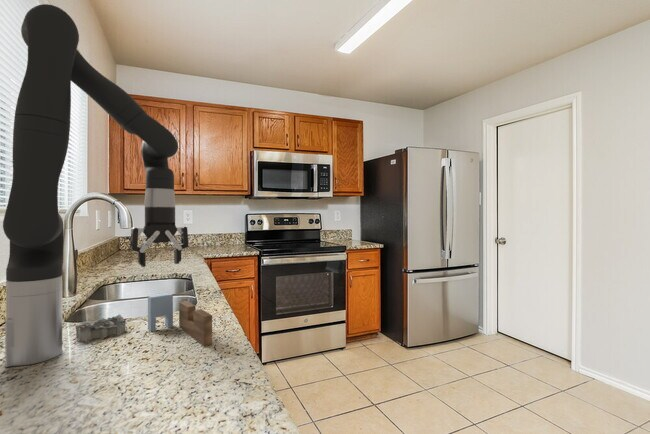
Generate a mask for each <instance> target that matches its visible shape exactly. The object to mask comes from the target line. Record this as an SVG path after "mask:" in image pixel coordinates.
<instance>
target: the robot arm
mask: <svg viewBox="0 0 650 434" xmlns="http://www.w3.org/2000/svg"><path fill="white" fill-rule="evenodd" d="M20 33H21V38H22V40H23V42H24V44H25V45H26V46H27V63H26V69H25V73H24V75H23V79H22V82H21V86H20V89H19V93H18V97H17V101H16V104H15V111H14V120H13V131H12V181H11V188H10V190H9V191H10V193H9V197H8V201H7V205H6V210H5V211H4V212H5V213H4V217H3V220H2V229H3V233H4V235H5V236H6V238H7V239H8V240H9V255H8V256H9V257H8V261H7V262H8V263H7V266H6V269H5V280H6V281H5V285H6V286H5V289H6V290H5V292H6V293H5V298H6V299H5V303H6V304H5V305H6V306H5V310H6V311H5V316H6V317H5V320H4V322H5V325H4V328H5V329H4V332H5V333H4V334H5V336H4V337H5V338H4V340H5V344H4V345H5V347H4V348H5V349H4V350H5V353H4V354H5V355H4V357H5V360H4V361H5V366H4V367H5V368H8V367H14V366H15V367H18V366H19V367H21V366H28V365H33V364H38V363H41V362H42V363H43V362H45V361H49V360H51V359H53V358H56V357H58V356H59V355H61V354H62V353H63V264H64V239H65V237H64V232H65V231H64V228H65V227H64V220H63V218H62V216H61V214H60V213H59V196H58V195H59V194H58V192H59V191H58V190H59V182H60V177H61V175H62V169H63V167H64V164H65V161H66V158H67V153H68V148H69V142H70V129H71V109H72V107H71V106H72V91H71V90H72V87H71V86H72V85H71V83H73V84H74V85H75V86H77V87H78V88H79V89H80V90H81V91H82V92H84V93H85V94H86V95H88V96H89V98H90V99H92V100H93V101H94V102H95V103H96V104H97V105H98V106H99V107H100V108H101V109H102V110H104V111H105V112H106V113H107V114H108V115H109V116H110V118H112V119H113V120H114V121H115V122H116V123H117V124H118V125H119V126H120V127H121V128H122V129H123V130H124V131H125V132H127V133H128V134H131V135H134V136H135V135H136V136H137V137H139V138H140V139H141V140H142V144H141V156H142V162H143V167H144V170H145V194H144V202H143V203H144V227H143V228H140V227H139V228H138V227H131V229H130V243H129V244H130V245H129V250H130V251H134V252H137V263H138V264H139V266H140V267H142V268H144V267H146V252H145V251H147V249H148V248H149V247H150V246H151V245H152V244H160V243H164V244H167V243H169V244H170V245H171V246H172V247H173V248H174V250H173V259H174V260H173V263H174V264H175V265H179V264H180V263H181V262H182V250H184V249H187V248H188V247H189V233H188V232H189V231H188V227H187V226H181V227H179V226H178V227H177V226H176V196H175V173H174V171H173V170H172V169H170V168H169V161H168V158H172V157H174V156H175V155H176V154H177V153H178V150H179V144H178V139H177V138H176V137H175V135H173V133H172V132H171V131H170V130H169V129H167V127H165V126H164V125H162V124H161V123H160V122H159V121H158V120H156V119H155V118H153V117H151V116H150V115H149V114H148V113H147V112H146V110H144V108H142V107H141V105H140V104H138V102H136V100H135V99H134V98H132V96H131V95H130V94H129V93H128V92H126V91H125V90H124V89H123V88H121V87H120V86H119V85H117V84H116V83H115V82H113V81H112V80H110V79H109V78H107V77H106V76H104V75H103V74H102V73H100V72H99V71H98V70H97V69H95V67H93V66H92V65H91V64H90V62H88V60H86V58H84V56H83V55H82V54H81V52H80V51H79V50H78V46H79V42H80V34H79V30H78V26H77V25H76V22H75V21H74V20H73V18H72V17H71V16H70V15H69V14H68V13H67V12H66V11H65V10H63V9H62V8H61V7H58V6H56V5H54V4H48V3H47V4H45V3H44V4H43V3H42V4H37V5H35V6H34V7H32V8H30V9H29V10H28V11H27V12H26V14H25V15H24V19H23V21H22V24H21V28H20ZM142 233H143V234H144V235H145V236H146V237H145V239H143V241H142V243H141V244H140V245H139V246H138V239H139V237H140V236H141V234H142ZM176 233H178V235H180V242H181V243H179V241H178V240H177V239H176V238H175V237H174V236H175V235H176Z"/></svg>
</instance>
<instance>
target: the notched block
mask: <svg viewBox="0 0 650 434" xmlns="http://www.w3.org/2000/svg"><path fill="white" fill-rule="evenodd" d="M161 317H164V326H166V327H167V328H168V329H169V328H173V327H174V294H173V293H171V292H163V293H157V294H149V295H147V330H149V331H150V332H155V331H156V330H157V327H156V324H157V323H156V320H157V318H161Z"/></svg>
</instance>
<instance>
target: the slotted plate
mask: <svg viewBox="0 0 650 434" xmlns="http://www.w3.org/2000/svg"><path fill="white" fill-rule="evenodd" d="M178 304H179V305H178V306H179V307H178V308H179V309H178V320H179V321H178V325H179V326H178V327H179V329H180V330H182V331H183V332H184V333H186V334H187V335H188V336H190V337H191V338H192V339H194V340H195V342H197V343H199V345H201V346H203V348H205V347H208V346H211V345H213V314H210V313H209V312H207V311H205V310H204V309H202V308H200V309H196V305H195V304H194V303H191V302H190V301H187V300H184V301H183V300H182V301H179V302H178Z"/></svg>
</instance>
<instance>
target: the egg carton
mask: <svg viewBox="0 0 650 434" xmlns="http://www.w3.org/2000/svg"><path fill="white" fill-rule="evenodd" d="M127 324H128V322H127V321H126V319H124V317H123V316H122V315H121V314H118V315H116V316H112V317H107V318H104V317H103V318H101V319H97V320H95V319H94V320H93V321H88V320H86V321H85V320H84V321H81V322H80V323H78V324H76V325H75V326H74V328H75V338H76V339H78V342H89V341H92V340H93V339H96V338H102V339H103V338H107V337H108V336H110V335H122V333H124V332H126V325H127Z"/></svg>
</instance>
